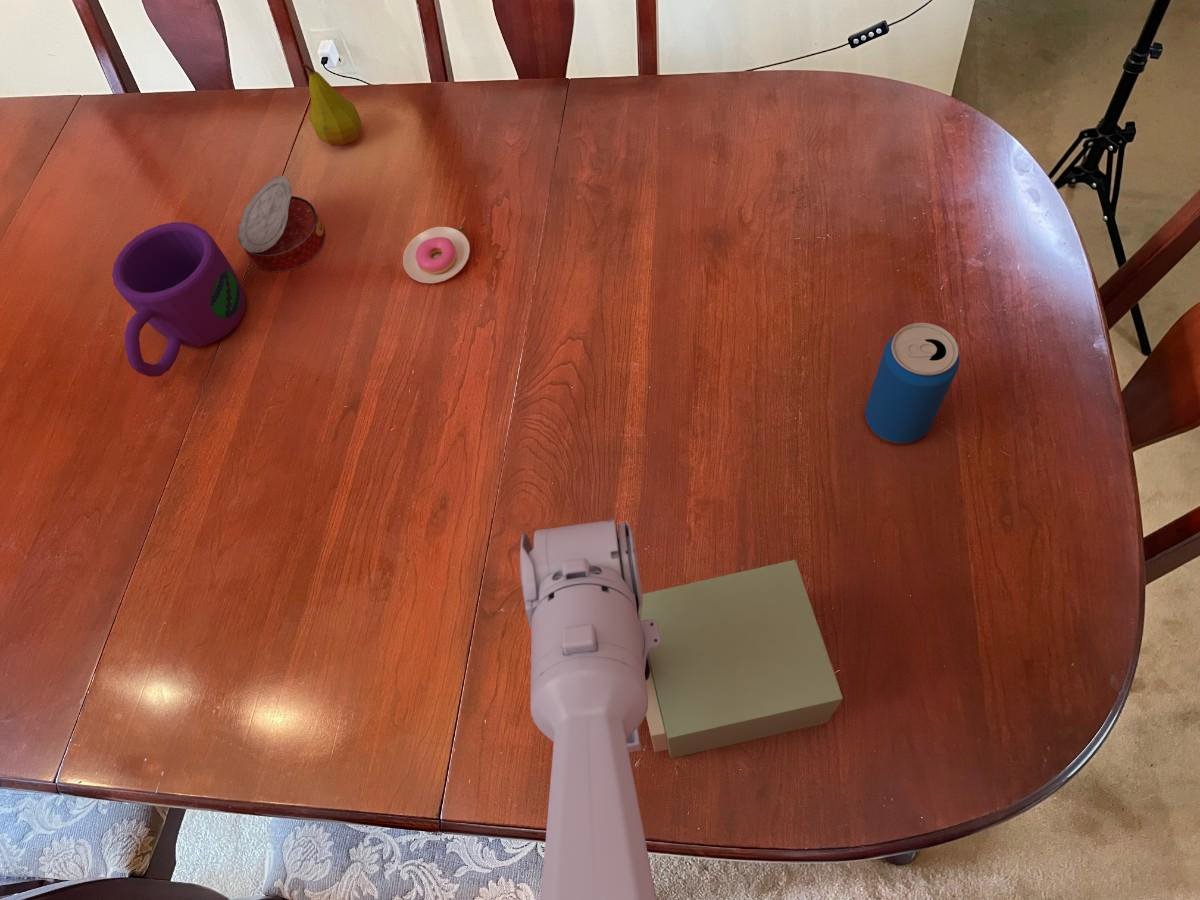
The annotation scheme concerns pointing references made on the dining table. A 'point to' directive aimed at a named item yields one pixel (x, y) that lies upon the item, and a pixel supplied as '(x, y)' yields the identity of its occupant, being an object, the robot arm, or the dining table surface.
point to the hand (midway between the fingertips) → (614, 677)
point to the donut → (436, 254)
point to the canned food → (280, 228)
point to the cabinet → (739, 659)
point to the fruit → (331, 112)
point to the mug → (176, 291)
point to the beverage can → (911, 382)
